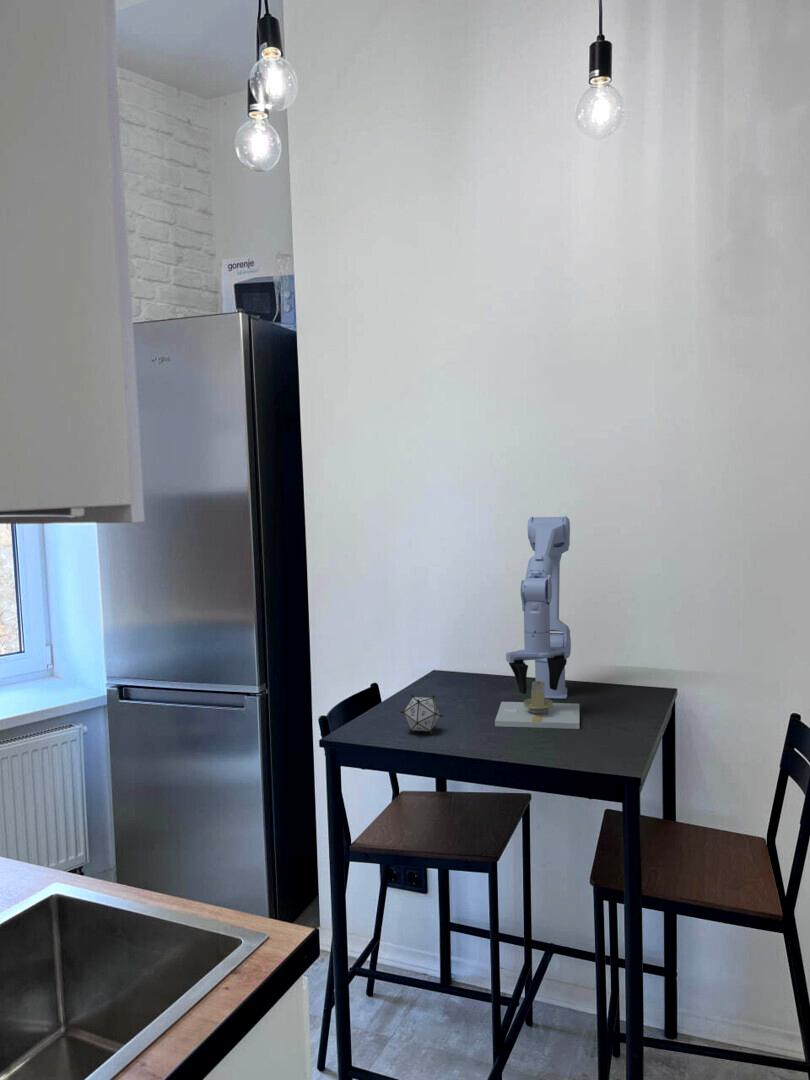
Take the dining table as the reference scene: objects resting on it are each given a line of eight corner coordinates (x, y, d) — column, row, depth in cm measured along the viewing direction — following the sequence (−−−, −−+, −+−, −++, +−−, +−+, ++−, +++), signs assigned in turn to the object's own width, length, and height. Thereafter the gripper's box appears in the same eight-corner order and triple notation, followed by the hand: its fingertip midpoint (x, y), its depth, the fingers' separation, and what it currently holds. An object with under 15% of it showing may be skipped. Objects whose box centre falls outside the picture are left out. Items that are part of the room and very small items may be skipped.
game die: (429, 747, 182) (455, 708, 183) (420, 744, 174) (447, 704, 175) (397, 723, 185) (423, 685, 186) (386, 719, 177) (413, 680, 178)
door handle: (523, 710, 185) (522, 690, 185) (524, 699, 194) (524, 680, 194) (552, 711, 184) (552, 690, 184) (552, 700, 193) (552, 681, 192)
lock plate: (501, 706, 199) (501, 696, 199) (579, 708, 195) (579, 698, 195) (495, 726, 183) (494, 715, 183) (579, 728, 179) (579, 717, 179)
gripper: (515, 636, 182) (516, 698, 183) (574, 631, 186) (575, 691, 187) (501, 631, 188) (502, 691, 189) (559, 626, 193) (560, 684, 194)
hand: (538, 691), depth 189 cm, fingers open, 7 cm apart
